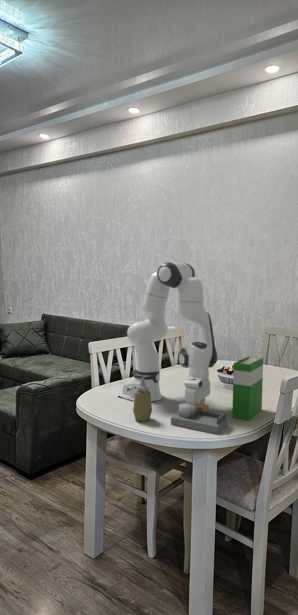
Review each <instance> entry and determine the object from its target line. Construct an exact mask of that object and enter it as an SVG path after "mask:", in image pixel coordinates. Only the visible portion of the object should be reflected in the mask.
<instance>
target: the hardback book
mask: <svg viewBox="0 0 298 615" xmlns="http://www.w3.org/2000/svg"><path fill="white" fill-rule="evenodd" d="M263 371H264V357H263V358H259V359H257V358H250V356H246V357H243V358H241V359H239V360H237V361H235V362H234V363H233V376H232V377H233V378H232V379H233V380H232V415H231V417H232V418H233V419H236V420H241V421H246V422H250V421H251V420H253V418H255V416H257V415H258V414H259V413H260V412H261V411H262V410H263V409H262V407H263V378H264V375H263V373H264V372H263ZM256 414H257V415H256Z"/></svg>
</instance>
